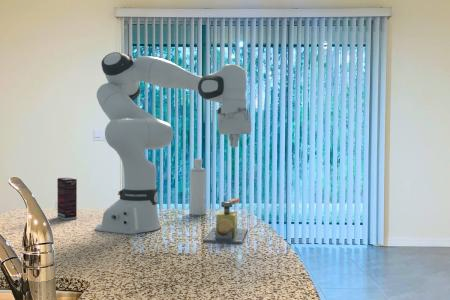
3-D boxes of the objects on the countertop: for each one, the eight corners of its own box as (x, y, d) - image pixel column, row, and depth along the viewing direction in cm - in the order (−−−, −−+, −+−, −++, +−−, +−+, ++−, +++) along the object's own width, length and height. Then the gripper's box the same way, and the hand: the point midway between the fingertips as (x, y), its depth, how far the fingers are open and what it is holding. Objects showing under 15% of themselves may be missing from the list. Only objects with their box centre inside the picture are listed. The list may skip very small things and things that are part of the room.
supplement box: (77, 219, 153) (77, 178, 152) (64, 220, 150) (64, 179, 149) (69, 215, 159) (68, 177, 159) (56, 217, 156) (56, 178, 155)
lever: (230, 207, 124) (230, 203, 124) (219, 206, 126) (219, 202, 126) (241, 202, 135) (241, 198, 135) (232, 201, 136) (232, 197, 136)
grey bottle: (187, 214, 164) (187, 155, 163) (195, 211, 170) (195, 154, 169) (200, 215, 161) (200, 155, 160) (208, 213, 167) (208, 155, 166)
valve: (203, 242, 120) (203, 211, 119) (213, 229, 136) (213, 202, 136) (241, 244, 118) (242, 212, 117) (247, 231, 134) (247, 203, 134)
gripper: (255, 107, 134) (255, 147, 134) (229, 111, 152) (229, 146, 152) (239, 106, 131) (239, 147, 131) (215, 110, 149) (214, 146, 150)
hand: (233, 146), depth 142 cm, fingers closed
